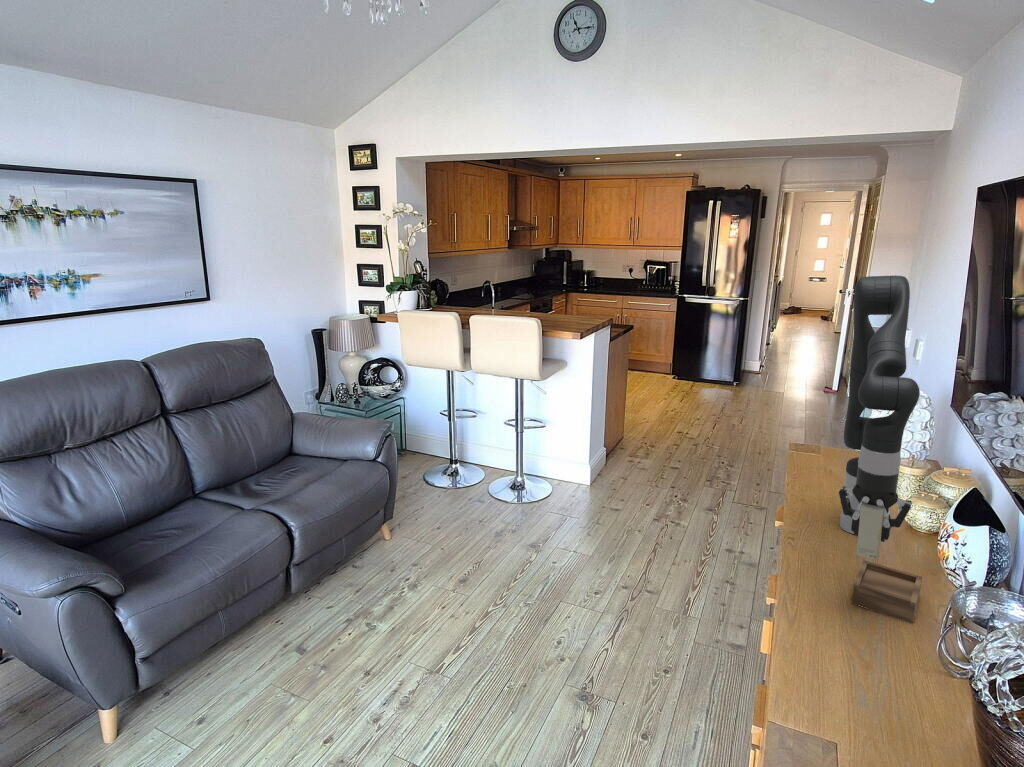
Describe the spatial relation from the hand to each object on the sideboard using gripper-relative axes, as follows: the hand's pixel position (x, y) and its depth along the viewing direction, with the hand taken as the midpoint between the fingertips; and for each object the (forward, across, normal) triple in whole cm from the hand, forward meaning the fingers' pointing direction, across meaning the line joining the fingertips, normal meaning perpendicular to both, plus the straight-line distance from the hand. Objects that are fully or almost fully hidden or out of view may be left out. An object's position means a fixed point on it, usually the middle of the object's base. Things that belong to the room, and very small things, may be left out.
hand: (869, 536), depth 130 cm
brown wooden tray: (+19, -4, -6) cm, 21 cm away
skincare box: (+4, 0, 0) cm, 4 cm away
